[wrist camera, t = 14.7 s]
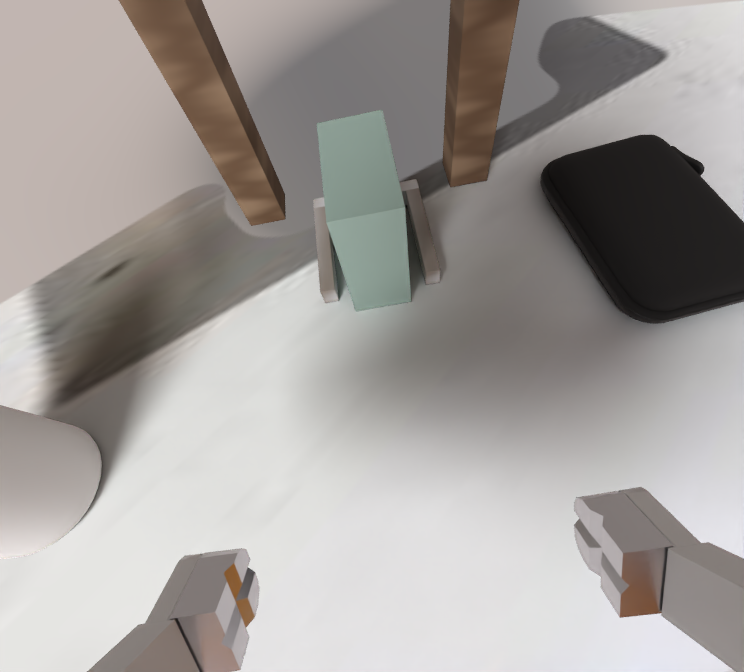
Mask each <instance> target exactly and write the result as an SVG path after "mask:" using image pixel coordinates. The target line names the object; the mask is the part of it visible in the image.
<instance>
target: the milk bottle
mask: <svg viewBox="0 0 744 672" xmlns="http://www.w3.org/2000/svg"><path fill="white" fill-rule="evenodd" d="M101 468H102V461H101V454H100V451H99V449H98V446H97V444H96V443H95V441H94V440H93V439H92V437H91V436H90V435H89V434H88V433H87V432H86V431H84V430H83V429H81V428H79V427H76V426H73V425H70V424H67V423H63V422H60V421H56V420H53V419H49V418H45V417H42V416H38V415H35V414H31V413H27V412H24V411H20V410H16V409H13V408H9V407H5V406H2V405H0V559H7V558H15V557H22V556H27V555H31V554H34V553H36V552H39V551H41V550H43V549H45V548H47V547H48V546H50V545H52V544H54V543H56V542H57V541H58V540H60V539H61V538H62V537H63V536H65V535H66V534H68V533H69V532H70V530H71V529H72V528H73V527H74V526H75V525H76V524H78V522H79V521H80V520H81V518H82V517H83V516H84V514H85V513H86V512H87V510H88V508H89V506H90V505H91V503H92V501H93V499H94V497H95V494H96V492H97V489H98V487H99V482H100V478H101Z"/></svg>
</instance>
